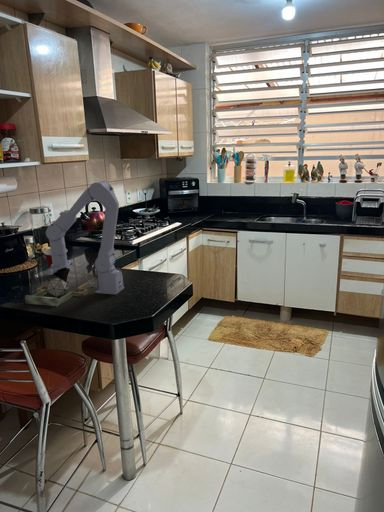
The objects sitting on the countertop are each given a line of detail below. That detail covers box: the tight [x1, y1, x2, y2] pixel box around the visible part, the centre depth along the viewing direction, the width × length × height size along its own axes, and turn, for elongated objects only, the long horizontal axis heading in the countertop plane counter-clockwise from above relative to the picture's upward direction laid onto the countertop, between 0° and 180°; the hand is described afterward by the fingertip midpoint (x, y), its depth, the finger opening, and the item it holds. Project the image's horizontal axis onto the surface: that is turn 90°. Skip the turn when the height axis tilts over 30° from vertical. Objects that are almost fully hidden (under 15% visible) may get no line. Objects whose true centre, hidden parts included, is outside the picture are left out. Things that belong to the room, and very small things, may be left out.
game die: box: [45, 275, 70, 298], centre depth 149 cm, size 9×8×10 cm
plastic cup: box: [43, 248, 68, 277], centre depth 177 cm, size 11×11×12 cm
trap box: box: [24, 282, 90, 307], centre depth 152 cm, size 22×22×3 cm
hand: (63, 286), depth 155 cm, fingers closed
